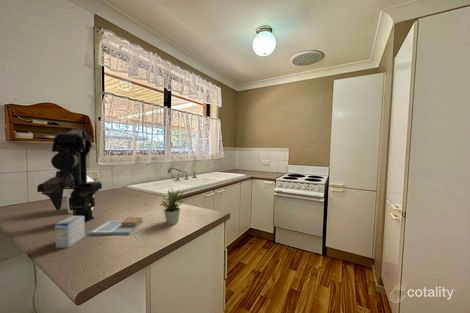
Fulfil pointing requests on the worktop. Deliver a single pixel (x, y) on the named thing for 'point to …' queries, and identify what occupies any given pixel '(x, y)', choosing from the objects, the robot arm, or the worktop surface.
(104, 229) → the board
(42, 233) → the worktop surface
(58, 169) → the robot arm
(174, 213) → the house plant
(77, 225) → the medicine box
